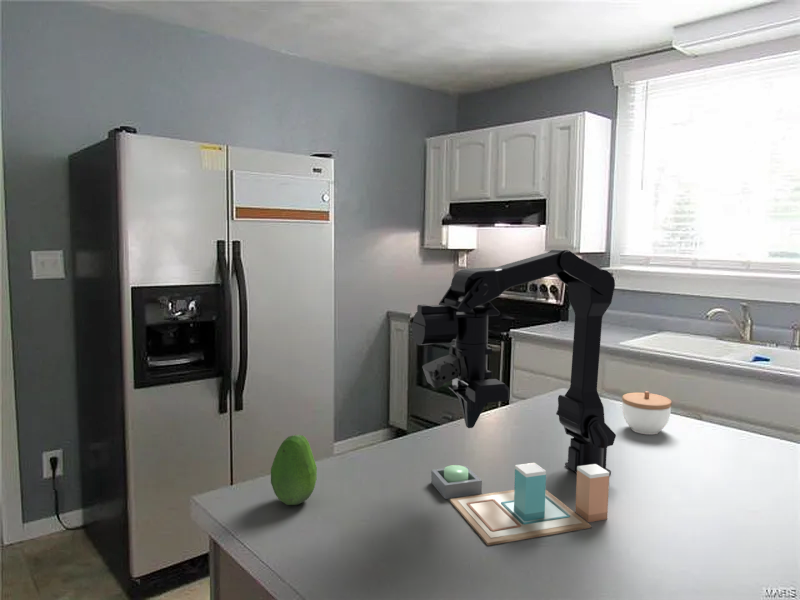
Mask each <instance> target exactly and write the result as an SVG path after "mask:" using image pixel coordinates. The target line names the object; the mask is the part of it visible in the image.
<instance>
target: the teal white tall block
mask: <svg viewBox="0 0 800 600" xmlns="http://www.w3.org/2000/svg"><path fill="white" fill-rule="evenodd" d="M546 485H547V470H546V469H544V468H543V467H541V466H540V465H539V464H537V463H536V462H530V463H529V462H528V463H522V464H521V463H520V464H515V465H514V489H513V490H514V512H515V513H516V514H517V515H518V516H519V517H520V518H521V519H523V520H524V521H531V520H537V519H544V518H545V490H547V489H546V488H547V486H546Z"/></svg>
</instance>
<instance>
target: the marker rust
mask: <svg viewBox="0 0 800 600" xmlns="http://www.w3.org/2000/svg"><path fill="white" fill-rule="evenodd" d="M575 484H576V485H575V486H576V487H575V508H574V509H575V511H574V512H575V513H576V514H577V515H579V516H580V517H581V518H582V519H584V520H585V521H586V522H587V523H593V522H598V521H603V520H608V509H609V508H608V507H609V492H610V491H609V490H610V489H609V487H610V474H609V472H608V471H607V470H605V469H603V468H602V467H600V466H598V465H597V464H591V465H583V466H577V473H576V483H575Z"/></svg>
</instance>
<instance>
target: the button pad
mask: <svg viewBox="0 0 800 600" xmlns="http://www.w3.org/2000/svg"><path fill="white" fill-rule="evenodd" d="M463 466H464V467H466V468H467V469H468V480H466V481H459V482H451V483H447V481H446V480H445V479H444V468H445V467H442V468H435V469H431V471H430V472H431V476H430V477H431V480H430V483H431V484H432V485H433V486H434V488H435V489H436V490H437V491H438V493H439V494H440V495H441V496H442V497H443V498H444V500H447V499H448V500H450V499H453V498H460V497H467V496H474V495H481V494H483V493H482V488H483V486H482V485H483V480H482V479H481V478H480V477H479V476H478V475H477V474H476V473H475V472H474V471H473V470H471V469H470V467H469V466H468V465H463Z"/></svg>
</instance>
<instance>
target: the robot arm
mask: <svg viewBox="0 0 800 600" xmlns="http://www.w3.org/2000/svg"><path fill="white" fill-rule="evenodd" d="M553 275H555V276H556V277H557V279H558V281H560V282H561V283H563V284H564V285H565V286H567V290H568V291H567V292H568V300H569V303H570V305H571V307H572V310H573V312H574V326H573V330H574V331H573V340H572V341H573V342H572V344H573V345H572V355H571V356H572V357H571V358H572V359H571V370H570V371H571V373H570V385H569V388H568V390H567V392H566V393H565V394H563V395H562V394H560V395H558V398H557V403H558V404H557V405H558V407H557V411H556V413H555V414H556V415H557V416H558V420H559V423H560V424H561V425H562V427H563V428H564V432H565V435H568V436H570V437H571V438H570V445H569V446H568V449H567V451H568V453H567V454H568V455H567V462H564V466H565V467H566V468H568V469H569V470H571V471H572V472H574V473H575V474H577V466H583V465H591V464H597V465H598V466H600V467H602V468H603V469H605V470H607V471H608V472H609V475H611V474H612V471H611V470H610V469H609V468H607V456H608V455H607V453H608V452H607V451H608V447H610V446H613V445H614V443H615V441H616V437H617V435H616V433H615V432H614V431H613V430H612V429H611V428H610V426H608V425H607V423H606V420H605V407H604V404H603V402H602V399H601V397H600V395H599V392H598V379H599V370H600V369H599V366H600V354H601V337H602V326H603V325H602V323H603V316H604V315H605V313H606V312H607V310H608V309H609V307H610V306H611V304H612V301H613V298H614V297H613V296H614V292H615V287H616V280H615V277H614V276H613V275H612V274H611V272H610V271H608V270H606V269H602V268H601V269H600V268H599V267H598V266H595V265H594V264H593V263H590V262H588V261H587V260H584V259H582V258H581V257H579V256H578V255H576V254H575V253H573V252H572V250H568V249H558V248H557V249H551V250H549V251H548V252H544V253H541V254H537V255H534V256H530V257H526V258H523V259H520V260H517V261H513V262H510V263H507V264H506V263H505V264H503V265H500V266H491V267H490V266H489V267H475V268H473V267H471V268H463V269H460V270H458V271H456V272H454V275H453V277H452V279H451V282H450V286H449V287H448V289H447V290H446V292H445V294H444V295H443V297H442V298H441V299H440V301H439V303H438V304H434V305H433V304H432V305H428V304H418V305H416V306H417V307H416V309H417V310H416V312H415V313H414V316H413V320H412V322H411V334H412V338H413V341H414V342H415V344H416V345H417V346H426V345H427V346H428V345H440V344H450V343H452V341H454V344H453V345H452V344H451V345H450V347H449V352H448V354H447V355H444V356H441V357H438V358H436V359H434V360H431V361H429V362H427V363H424V364H423V365H422V367H421V368H422V369H423V373H424V375H425V378H426V382H427V384H429V385H431V386H432V387H433V388H434V389H435V388H437V389H438V388H441V387H442V386H444V384H446V383H449V382H451V381H452V382H451V384H452V385H451V384H450V385H448V388H449V390H450V391H452V392H453V393H454V394H455V395H456V396H457V398H458V401H459V404H460V408H461V413H462V416H463V419H464V423H465V427H466V428H468V429H473V428H474V427H475V425H476V424H477V421H478V419H479V418H480V416H481V415H482V412H483V410H484V408H485V407H486V405H487V403H488V404H489V403H499V402H508V401H510V396H511V395H510V394H511V393H510V392H511V389H510V387H509V386H508V385H506V383H504V382H503V381H500V379H499V380H498V379H497V378H492V371H491V370H488V355H489V356H490V355H493V348H491V347H489V346H488V345H489V343H488V342H489V317H494V316H499V315H500V314H501V312H500V311H499V310H498V309H497V308H496V307H495V306H494V305H493V304H492V302H491V301H493V300H495V299H497V298H498V297H500V296H501V295H502V294H503V293H504V292H506V291H507V290H509V289H511V288H515V287H518V286H522V285H523V284H527V283H531V282H535V281H536V280H540V279H543V278H547V277H551V276H553Z"/></svg>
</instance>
